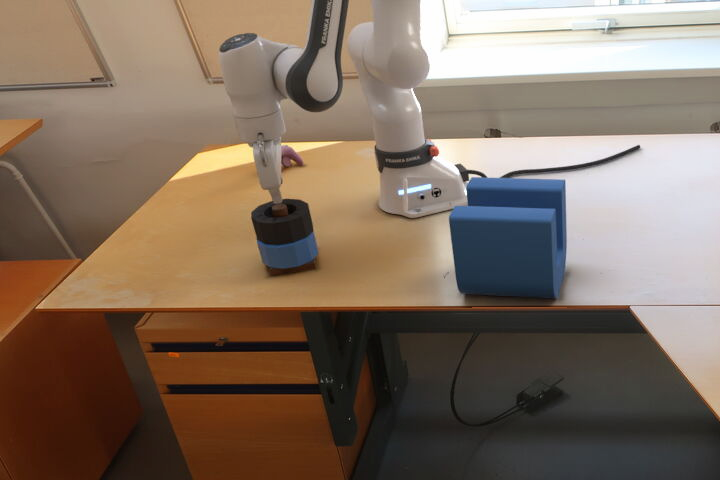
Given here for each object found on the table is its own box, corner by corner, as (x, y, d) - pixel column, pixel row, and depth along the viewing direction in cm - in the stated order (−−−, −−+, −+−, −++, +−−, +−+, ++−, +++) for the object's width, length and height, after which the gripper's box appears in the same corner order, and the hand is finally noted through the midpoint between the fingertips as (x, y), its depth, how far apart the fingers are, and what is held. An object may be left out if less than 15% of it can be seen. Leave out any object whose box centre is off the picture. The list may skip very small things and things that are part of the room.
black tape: (311, 216, 164) (307, 195, 162) (314, 239, 156) (309, 217, 153) (257, 225, 162) (251, 203, 159) (257, 248, 153) (250, 226, 151)
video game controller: (297, 167, 208) (284, 143, 206) (306, 163, 205) (293, 138, 202) (268, 180, 201) (254, 155, 199) (276, 176, 198) (262, 150, 196)
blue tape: (316, 238, 167) (311, 218, 164) (319, 262, 158) (314, 241, 155) (262, 247, 164) (256, 227, 161) (262, 272, 155) (256, 251, 153)
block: (554, 310, 142) (551, 220, 132) (459, 305, 145) (448, 217, 135) (567, 262, 157) (565, 178, 146) (480, 258, 159) (472, 175, 149)
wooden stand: (314, 249, 166) (301, 194, 159) (315, 268, 159) (302, 212, 152) (271, 255, 164) (256, 201, 157) (270, 275, 157) (254, 219, 150)
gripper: (276, 141, 141) (294, 211, 150) (278, 107, 158) (294, 172, 166) (241, 146, 140) (260, 216, 148) (245, 111, 156) (263, 176, 165)
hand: (278, 192), depth 157 cm, fingers open, 8 cm apart
